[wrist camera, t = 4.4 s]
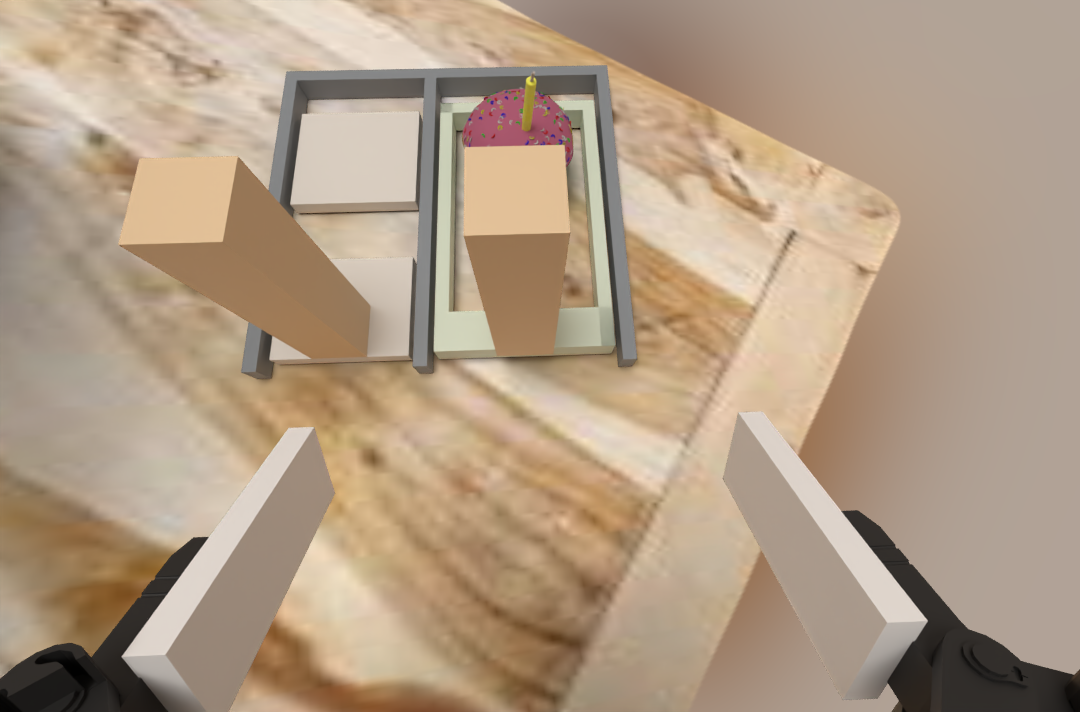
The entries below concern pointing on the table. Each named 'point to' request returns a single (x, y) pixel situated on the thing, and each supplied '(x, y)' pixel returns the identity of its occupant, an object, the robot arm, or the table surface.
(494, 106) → the cupcake
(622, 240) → the board
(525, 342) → the pale green frame
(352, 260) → the broken strip
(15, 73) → the table surface
